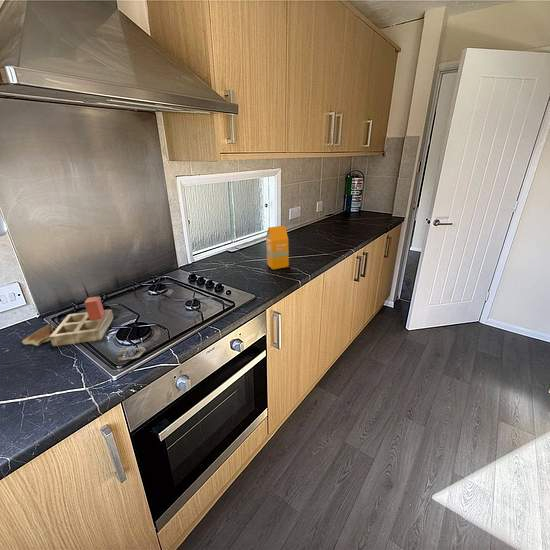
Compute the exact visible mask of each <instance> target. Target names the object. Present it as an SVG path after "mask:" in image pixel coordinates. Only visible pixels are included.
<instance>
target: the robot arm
mask: <svg viewBox="0 0 550 550" xmlns="http://www.w3.org/2000/svg"><path fill="white" fill-rule="evenodd" d="M7 232H8V227H7V225H6V222H5V219H4V217H3V215H2V213H1V212H0V238H1V237H3V236H6V235H7Z"/></svg>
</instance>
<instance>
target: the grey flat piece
mask: <svg viewBox="0 0 550 550" xmlns="http://www.w3.org/2000/svg"><path fill="white" fill-rule="evenodd" d="M146 350H147V349H146V348H145V347H143V346H140V347H135V348H134V347H129V346H128V347H127V348H122V349H121V350H119V351H118V352H117V354H115V357H116V359H117V360H118V362H119V361H126V360H135V359H138V358H140V357H141V356H142V354H144V352H146Z"/></svg>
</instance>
